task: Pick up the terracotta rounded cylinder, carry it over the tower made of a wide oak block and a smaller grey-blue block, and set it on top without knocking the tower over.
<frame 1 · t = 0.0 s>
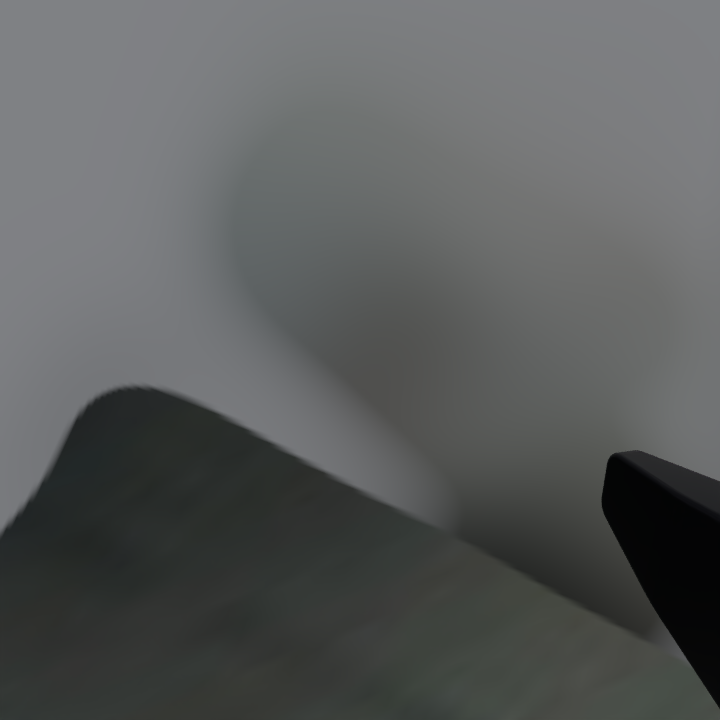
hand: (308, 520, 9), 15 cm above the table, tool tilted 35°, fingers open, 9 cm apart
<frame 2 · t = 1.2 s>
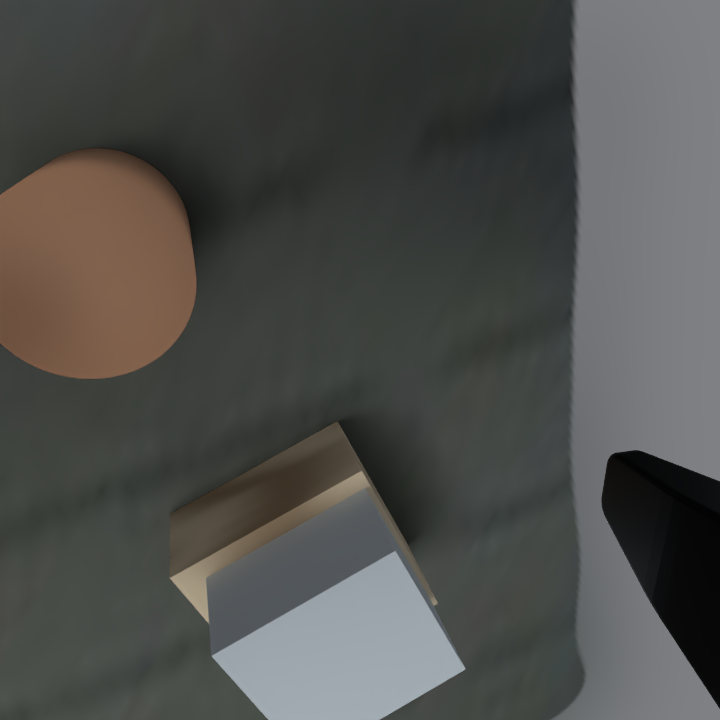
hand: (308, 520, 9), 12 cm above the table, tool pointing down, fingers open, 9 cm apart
terracotta rounded cylinder: (107, 232, 18), on the table
oak base block: (295, 525, 24), on the table, touching grey-blue top block
grey-blue top block: (325, 589, 21), point 3 cm above the table, touching oak base block
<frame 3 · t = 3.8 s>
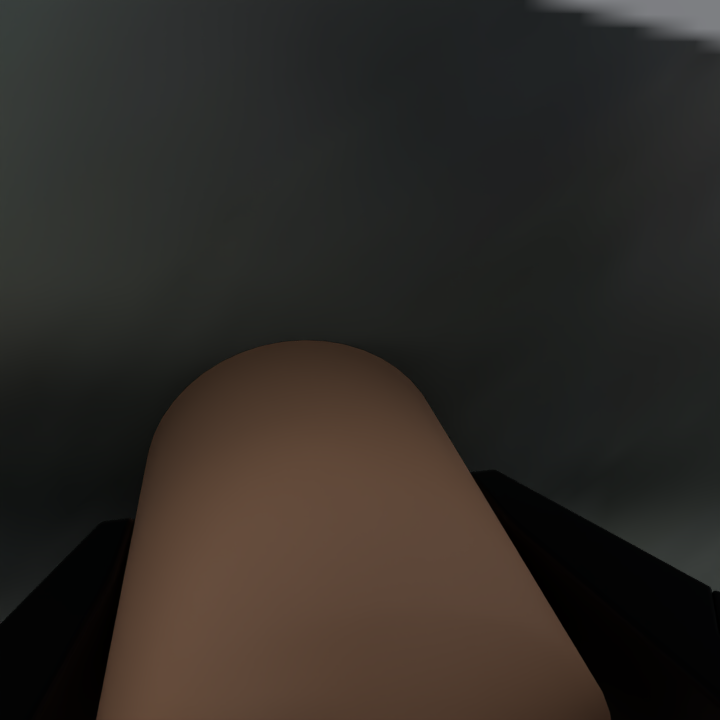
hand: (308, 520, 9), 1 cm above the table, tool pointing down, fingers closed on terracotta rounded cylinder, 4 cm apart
terracotta rounded cylinder: (300, 476, 10), on the table, touching gripper
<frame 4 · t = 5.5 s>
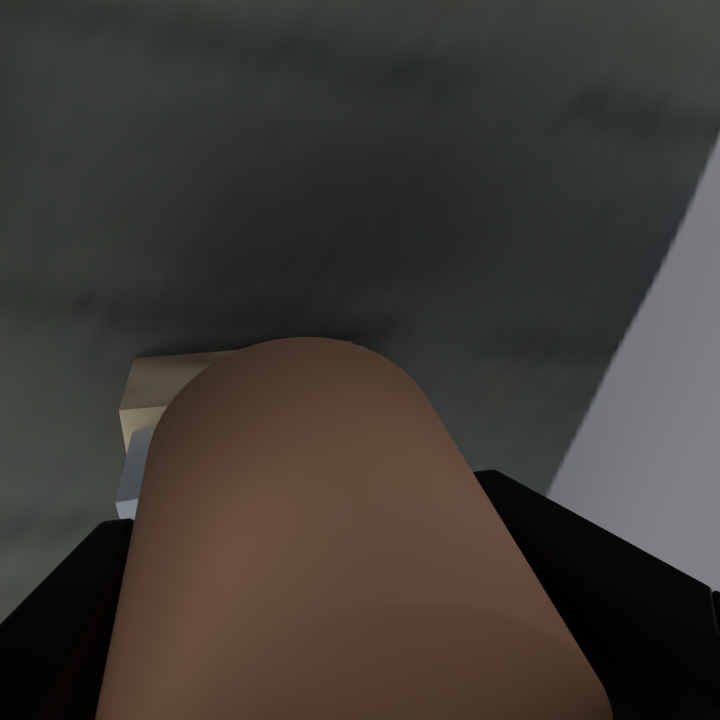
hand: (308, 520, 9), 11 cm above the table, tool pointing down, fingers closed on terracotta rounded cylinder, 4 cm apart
terracotta rounded cylinder: (300, 473, 10), point 10 cm above the table, touching gripper
oak base block: (252, 436, 21), on the table, touching grey-blue top block
grey-blue top block: (254, 500, 18), point 3 cm above the table, touching oak base block
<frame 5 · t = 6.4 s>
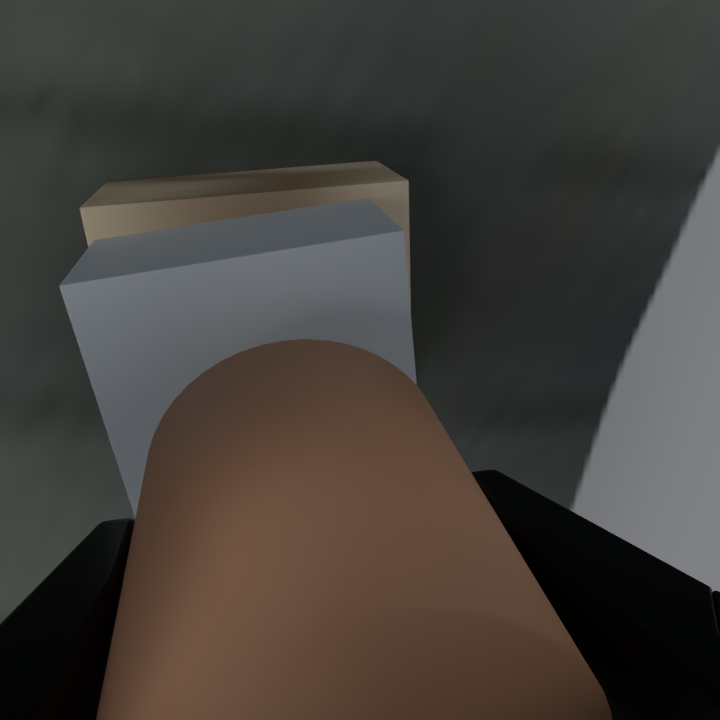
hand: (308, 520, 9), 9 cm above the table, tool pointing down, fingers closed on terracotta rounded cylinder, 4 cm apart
terracotta rounded cylinder: (300, 475, 10), point 8 cm above the table, touching gripper
oak base block: (260, 293, 17), on the table
grey-blue top block: (259, 342, 14), point 3 cm above the table
when the fingers open (9 cm above the table, at t = 7.0 s): terracotta rounded cylinder drops 2 cm, point 6 cm above the table.
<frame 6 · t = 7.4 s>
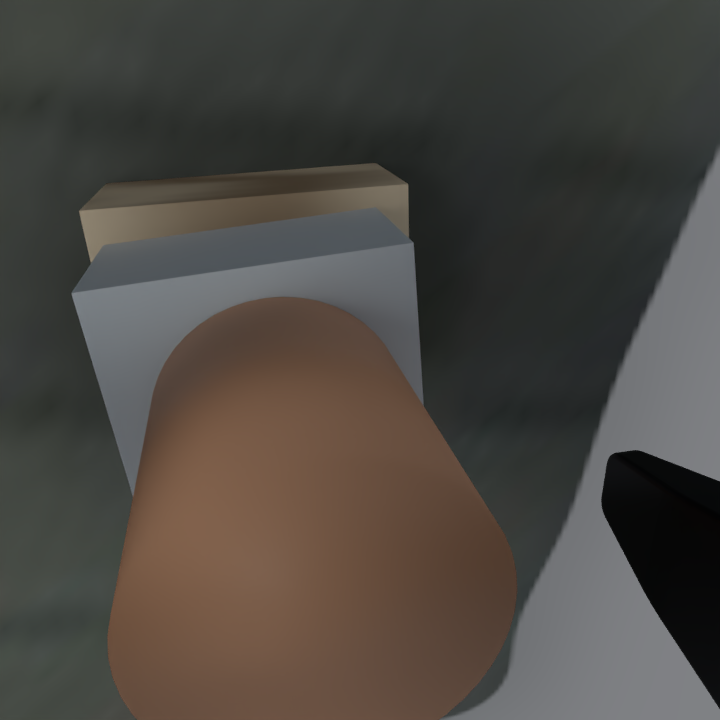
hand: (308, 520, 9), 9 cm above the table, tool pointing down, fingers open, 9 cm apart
terracotta rounded cylinder: (282, 417, 12), point 6 cm above the table
oak base block: (259, 295, 17), on the table
grey-blue top block: (264, 348, 14), point 3 cm above the table
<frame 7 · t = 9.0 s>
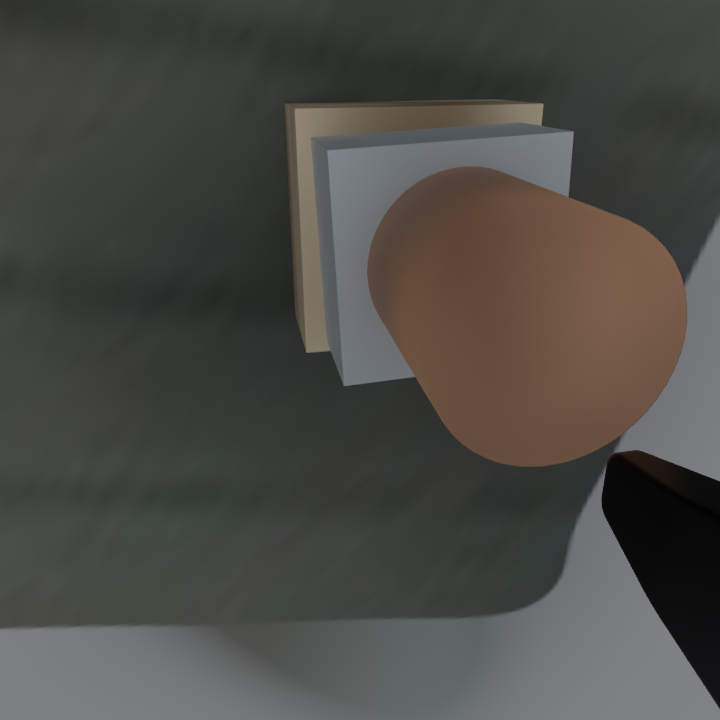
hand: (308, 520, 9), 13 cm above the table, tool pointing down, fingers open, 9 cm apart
terracotta rounded cylinder: (462, 266, 15), point 6 cm above the table, touching grey-blue top block
oak base block: (390, 209, 21), on the table, touching grey-blue top block
grey-blue top block: (418, 235, 18), point 3 cm above the table, touching oak base block, terracotta rounded cylinder
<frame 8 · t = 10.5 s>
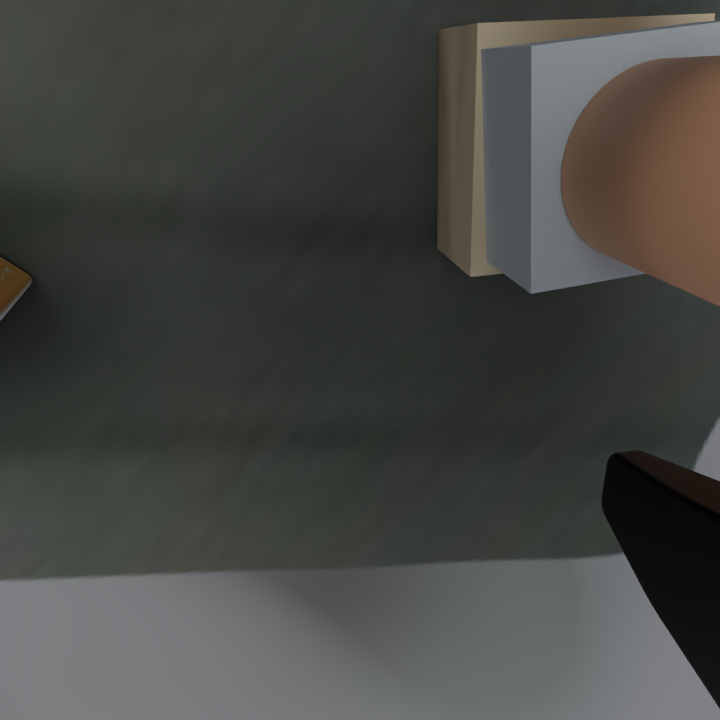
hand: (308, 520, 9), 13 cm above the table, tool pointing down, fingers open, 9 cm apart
terracotta rounded cylinder: (651, 164, 15), point 6 cm above the table, touching grey-blue top block
oak base block: (532, 138, 21), on the table, touching grey-blue top block
grey-blue top block: (579, 148, 18), point 3 cm above the table, touching oak base block, terracotta rounded cylinder
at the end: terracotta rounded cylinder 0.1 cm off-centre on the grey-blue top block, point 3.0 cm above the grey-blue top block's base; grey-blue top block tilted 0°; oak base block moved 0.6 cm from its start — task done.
